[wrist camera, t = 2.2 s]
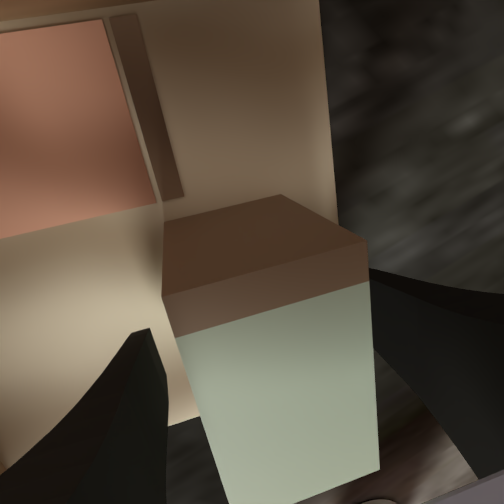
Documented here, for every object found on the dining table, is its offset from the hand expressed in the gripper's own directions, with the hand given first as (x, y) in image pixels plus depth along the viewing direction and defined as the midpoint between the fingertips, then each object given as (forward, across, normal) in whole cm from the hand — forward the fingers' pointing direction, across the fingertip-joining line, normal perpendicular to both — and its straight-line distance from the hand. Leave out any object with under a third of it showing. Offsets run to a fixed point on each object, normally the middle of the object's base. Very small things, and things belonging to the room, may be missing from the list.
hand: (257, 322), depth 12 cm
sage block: (+2, 0, 0) cm, 2 cm away
